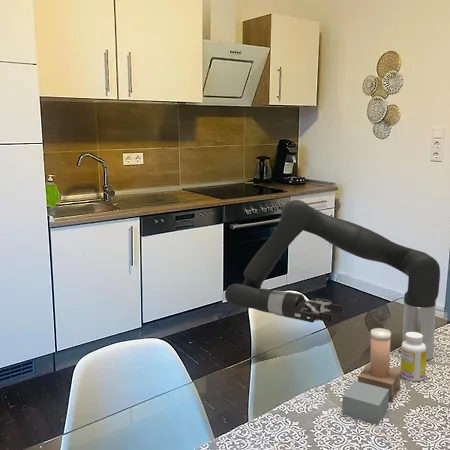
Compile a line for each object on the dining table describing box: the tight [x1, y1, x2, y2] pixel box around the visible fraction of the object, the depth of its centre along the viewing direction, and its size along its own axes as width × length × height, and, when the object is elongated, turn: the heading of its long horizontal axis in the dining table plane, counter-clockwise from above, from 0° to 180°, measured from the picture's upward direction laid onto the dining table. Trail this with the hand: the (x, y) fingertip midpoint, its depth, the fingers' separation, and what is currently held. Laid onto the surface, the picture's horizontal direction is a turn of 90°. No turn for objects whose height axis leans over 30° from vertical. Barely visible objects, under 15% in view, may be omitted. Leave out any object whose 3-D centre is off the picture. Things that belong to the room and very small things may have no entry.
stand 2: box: [342, 380, 390, 426], centre depth 120 cm, size 9×9×5 cm
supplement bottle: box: [400, 332, 427, 382], centre depth 137 cm, size 7×7×13 cm
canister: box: [369, 327, 392, 378], centre depth 129 cm, size 5×5×12 cm
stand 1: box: [357, 363, 402, 403], centre depth 130 cm, size 9×9×5 cm
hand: (338, 314), depth 134 cm, fingers open, 8 cm apart
